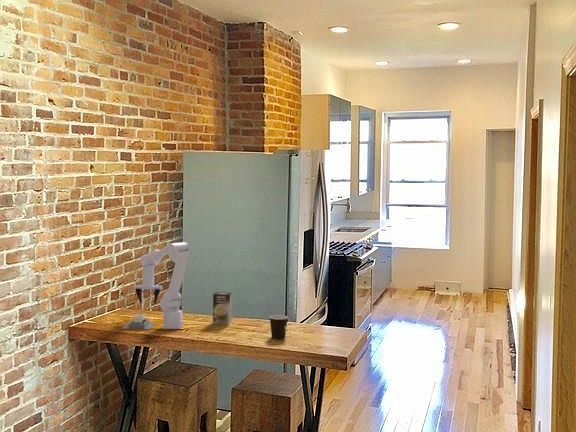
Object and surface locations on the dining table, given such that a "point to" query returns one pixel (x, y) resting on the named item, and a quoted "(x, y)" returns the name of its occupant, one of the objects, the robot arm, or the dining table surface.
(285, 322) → the coffee mug
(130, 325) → the slot holder
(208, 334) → the dining table surface
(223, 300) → the coffee box
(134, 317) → the steel block
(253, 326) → the dining table surface
